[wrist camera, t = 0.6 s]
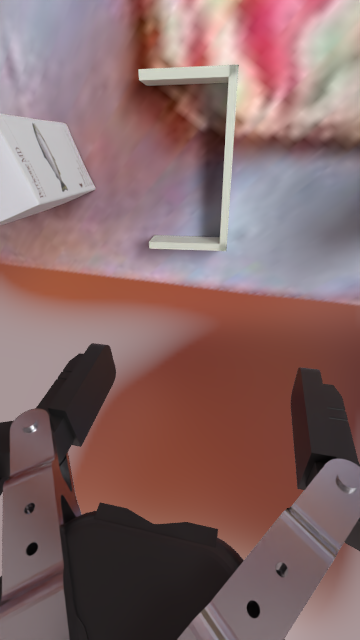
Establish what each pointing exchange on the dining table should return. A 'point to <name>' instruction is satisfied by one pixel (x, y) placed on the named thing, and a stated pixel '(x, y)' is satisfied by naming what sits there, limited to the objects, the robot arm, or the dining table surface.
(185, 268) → the dining table surface
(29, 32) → the dining table surface
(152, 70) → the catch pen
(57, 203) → the supplement box
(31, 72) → the dining table surface
